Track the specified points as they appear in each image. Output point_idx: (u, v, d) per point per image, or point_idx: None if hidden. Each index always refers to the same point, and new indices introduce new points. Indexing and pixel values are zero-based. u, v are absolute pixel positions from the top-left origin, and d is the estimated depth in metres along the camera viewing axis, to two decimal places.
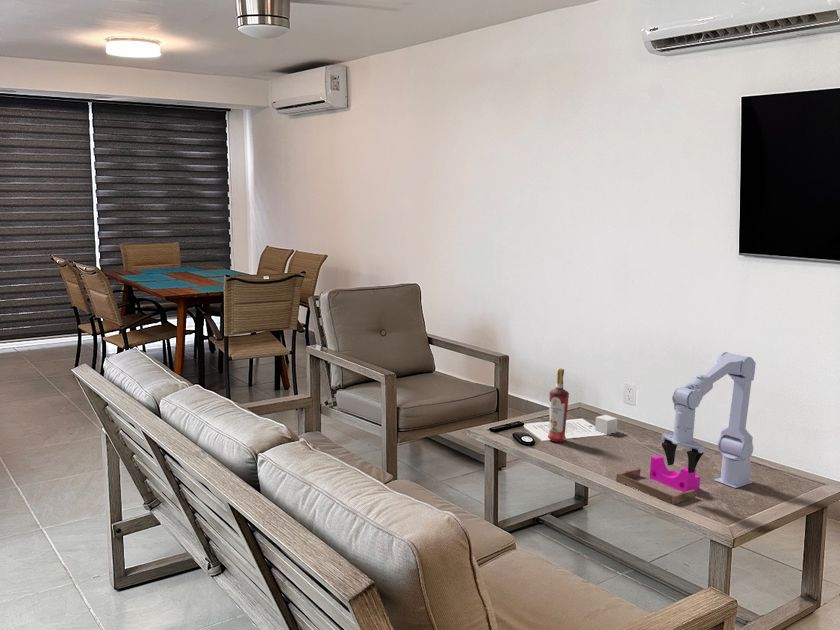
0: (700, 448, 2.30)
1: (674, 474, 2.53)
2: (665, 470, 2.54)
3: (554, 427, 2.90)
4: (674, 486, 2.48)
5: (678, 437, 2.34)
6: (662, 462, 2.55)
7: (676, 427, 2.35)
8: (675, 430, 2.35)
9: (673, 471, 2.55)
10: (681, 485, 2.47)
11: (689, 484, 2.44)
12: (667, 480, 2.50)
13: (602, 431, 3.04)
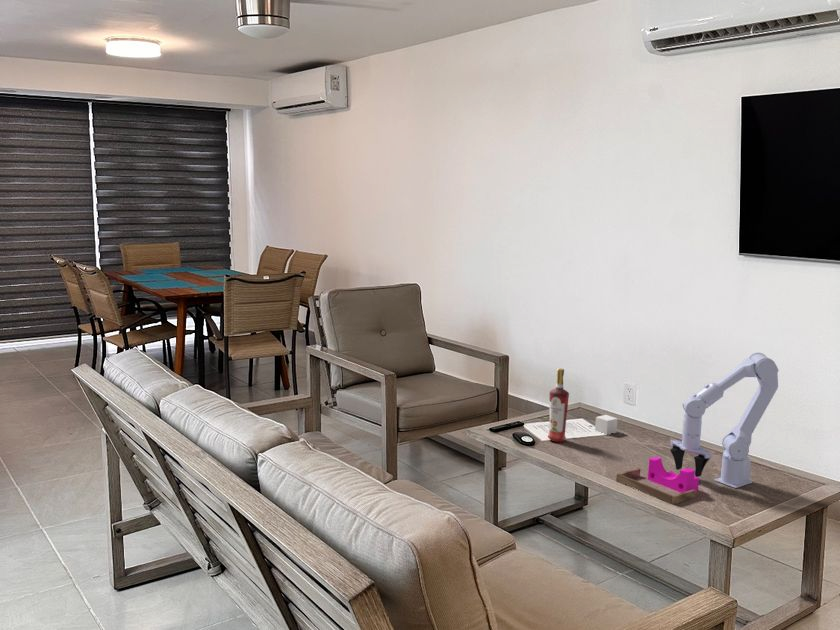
0: (706, 454, 2.48)
1: (672, 475, 2.52)
2: (663, 471, 2.53)
3: (554, 427, 2.90)
4: (673, 487, 2.47)
5: (686, 443, 2.52)
6: (660, 463, 2.54)
7: (684, 434, 2.53)
8: (683, 437, 2.53)
9: (671, 472, 2.54)
10: (680, 486, 2.46)
11: (688, 486, 2.43)
12: (666, 481, 2.49)
13: (602, 431, 3.04)
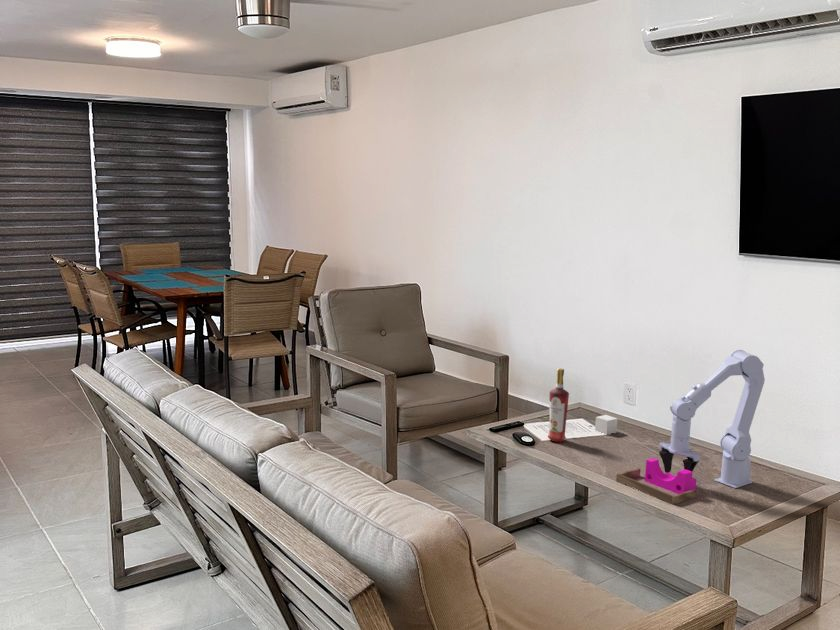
0: (695, 457, 2.45)
1: (670, 476, 2.51)
2: (660, 472, 2.52)
3: (554, 427, 2.90)
4: (670, 489, 2.46)
5: (675, 446, 2.49)
6: (657, 465, 2.53)
7: (673, 437, 2.50)
8: (672, 440, 2.50)
9: (668, 473, 2.53)
10: (678, 488, 2.44)
11: (686, 487, 2.42)
12: (663, 482, 2.48)
13: (602, 431, 3.04)
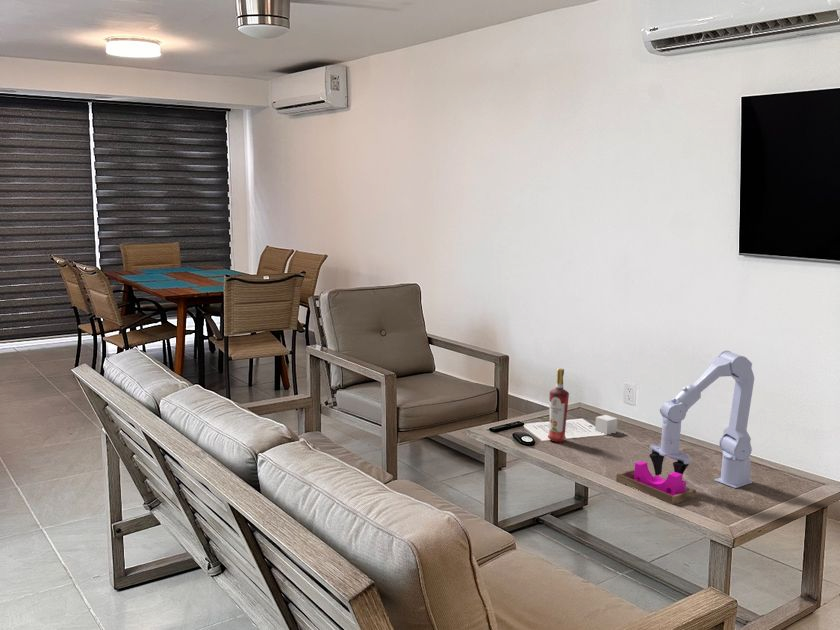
0: (685, 459, 2.42)
1: (659, 479, 2.48)
2: (650, 475, 2.49)
3: (554, 427, 2.90)
4: None
5: (665, 449, 2.46)
6: (646, 468, 2.50)
7: (663, 439, 2.47)
8: (662, 442, 2.48)
9: (657, 476, 2.50)
10: (668, 491, 2.42)
11: (676, 490, 2.39)
12: (653, 486, 2.45)
13: (602, 431, 3.04)
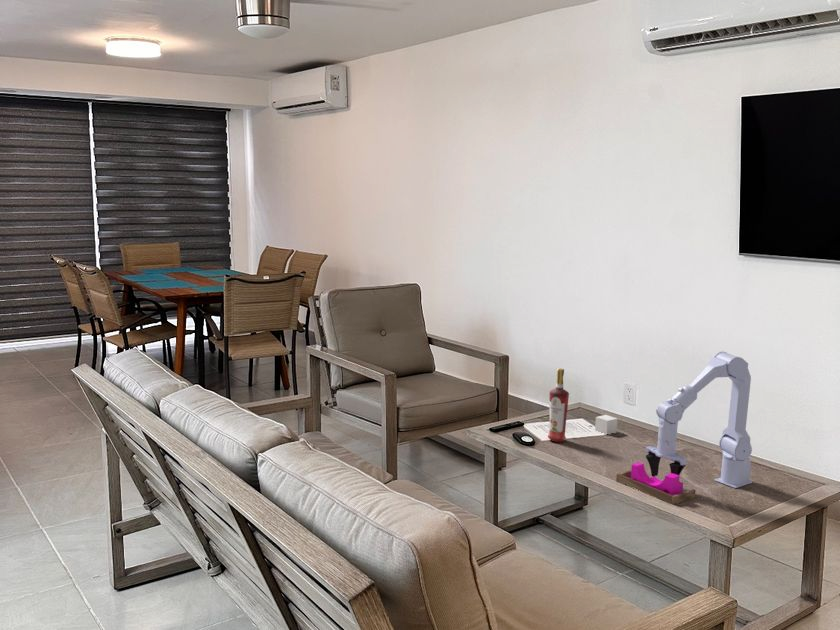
0: (682, 460, 2.41)
1: (656, 481, 2.47)
2: (646, 477, 2.47)
3: (554, 427, 2.90)
4: None
5: (661, 450, 2.45)
6: (643, 469, 2.48)
7: (659, 440, 2.46)
8: (658, 443, 2.47)
9: (654, 477, 2.49)
10: (665, 492, 2.40)
11: (673, 491, 2.38)
12: None
13: (602, 431, 3.04)
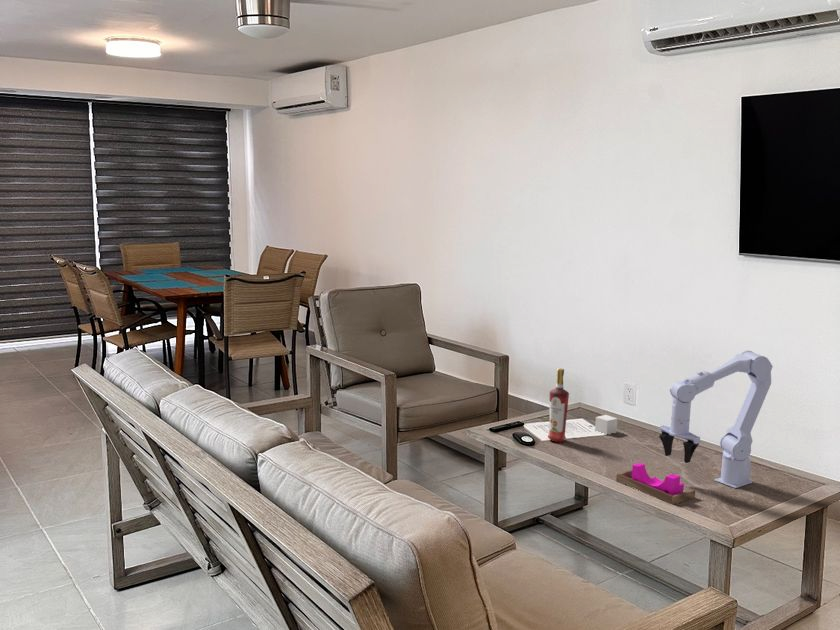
0: (695, 439, 2.44)
1: (656, 481, 2.46)
2: (647, 477, 2.47)
3: (554, 427, 2.90)
4: None
5: (675, 429, 2.48)
6: (644, 469, 2.48)
7: (673, 419, 2.48)
8: (672, 422, 2.49)
9: (655, 478, 2.48)
10: None
11: (673, 492, 2.38)
12: None
13: (602, 431, 3.04)
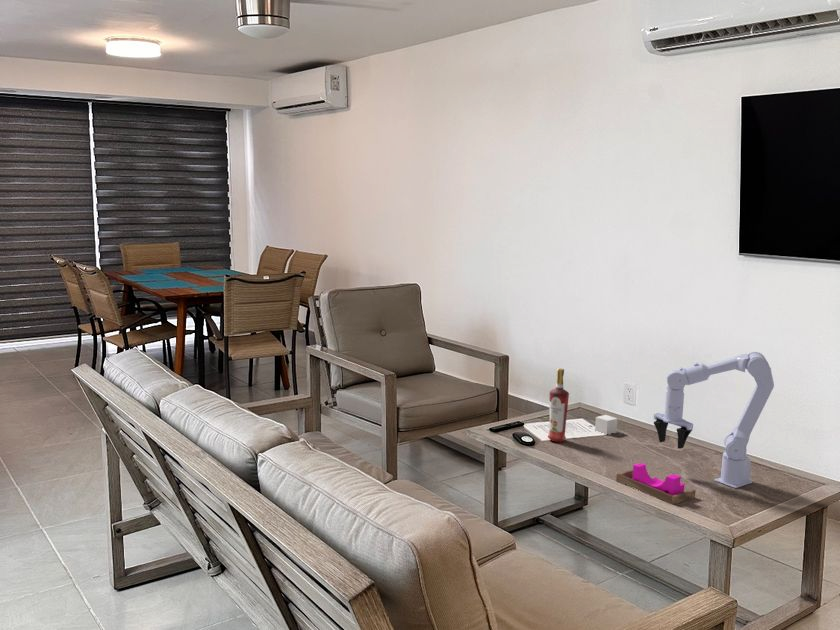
0: (688, 425, 2.52)
1: (657, 481, 2.46)
2: (648, 477, 2.47)
3: (554, 427, 2.90)
4: None
5: (669, 416, 2.56)
6: (644, 470, 2.48)
7: (667, 407, 2.56)
8: (666, 409, 2.57)
9: (656, 478, 2.48)
10: None
11: (674, 492, 2.37)
12: None
13: (602, 431, 3.04)
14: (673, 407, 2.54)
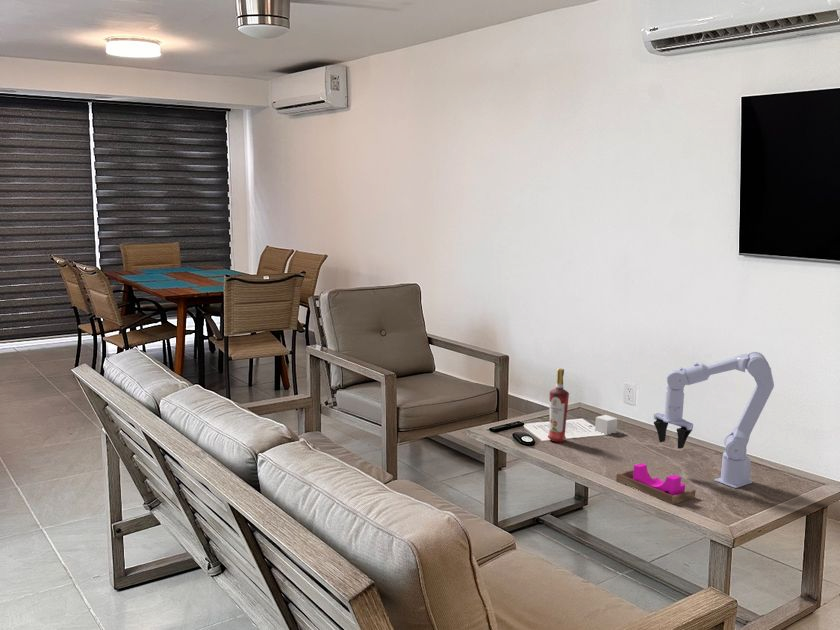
0: (688, 425, 2.52)
1: (658, 482, 2.46)
2: (649, 478, 2.46)
3: (554, 427, 2.90)
4: None
5: (669, 416, 2.56)
6: (645, 470, 2.47)
7: (667, 407, 2.56)
8: (666, 409, 2.57)
9: (657, 478, 2.47)
10: None
11: (674, 493, 2.37)
12: None
13: (602, 431, 3.04)
14: (673, 407, 2.54)
